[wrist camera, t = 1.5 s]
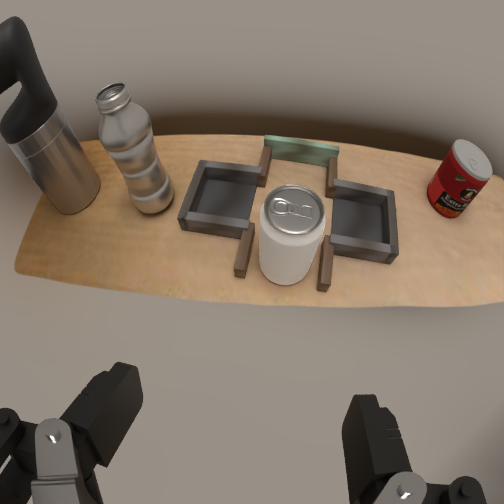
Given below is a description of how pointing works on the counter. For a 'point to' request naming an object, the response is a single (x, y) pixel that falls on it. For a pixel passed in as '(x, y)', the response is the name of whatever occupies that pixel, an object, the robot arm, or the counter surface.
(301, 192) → the can
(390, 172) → the counter surface
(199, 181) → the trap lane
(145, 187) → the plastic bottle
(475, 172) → the canned food
